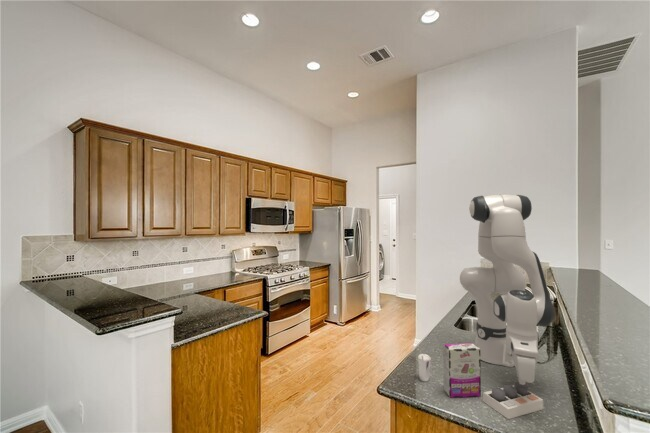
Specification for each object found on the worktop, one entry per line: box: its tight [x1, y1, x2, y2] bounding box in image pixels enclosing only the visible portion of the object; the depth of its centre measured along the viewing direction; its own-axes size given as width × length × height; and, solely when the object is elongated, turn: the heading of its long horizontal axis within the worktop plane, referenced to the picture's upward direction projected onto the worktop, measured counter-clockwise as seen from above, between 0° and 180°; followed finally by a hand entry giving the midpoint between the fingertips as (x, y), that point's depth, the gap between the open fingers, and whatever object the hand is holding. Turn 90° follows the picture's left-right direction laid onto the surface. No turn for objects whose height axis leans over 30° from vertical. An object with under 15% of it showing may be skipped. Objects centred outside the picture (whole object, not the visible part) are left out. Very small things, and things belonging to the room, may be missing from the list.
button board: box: [482, 384, 544, 420], centre depth 95 cm, size 15×9×3 cm, turn 109°
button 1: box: [491, 387, 505, 402], centre depth 95 cm, size 4×4×3 cm
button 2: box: [513, 381, 529, 396], centre depth 98 cm, size 4×4×3 cm
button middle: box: [502, 384, 517, 399], centre depth 96 cm, size 4×4×3 cm
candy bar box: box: [442, 342, 482, 399], centre depth 102 cm, size 11×5×16 cm, turn 94°
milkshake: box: [417, 353, 432, 382], centre depth 110 cm, size 4×5×10 cm
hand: (521, 382), depth 98 cm, fingers closed
